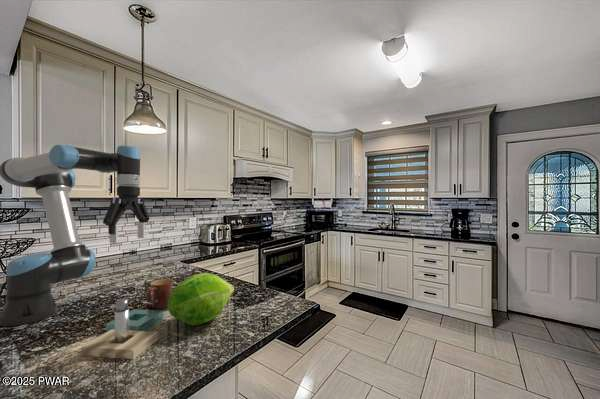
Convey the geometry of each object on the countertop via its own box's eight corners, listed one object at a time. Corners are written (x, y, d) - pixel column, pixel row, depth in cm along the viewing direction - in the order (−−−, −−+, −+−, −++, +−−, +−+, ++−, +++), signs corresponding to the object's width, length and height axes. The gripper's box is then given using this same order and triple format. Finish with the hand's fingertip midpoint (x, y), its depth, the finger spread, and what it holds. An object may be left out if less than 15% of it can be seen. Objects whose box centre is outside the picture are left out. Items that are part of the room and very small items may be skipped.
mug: (160, 301, 111) (160, 278, 112) (178, 303, 110) (178, 279, 110) (138, 313, 100) (138, 287, 100) (157, 315, 98) (157, 288, 98)
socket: (106, 333, 84) (106, 324, 84) (133, 317, 96) (133, 309, 96) (139, 335, 83) (139, 326, 83) (163, 318, 95) (163, 310, 95)
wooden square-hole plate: (81, 355, 72) (81, 346, 72) (111, 337, 82) (111, 329, 82) (133, 359, 70) (133, 350, 70) (157, 339, 80) (157, 331, 80)
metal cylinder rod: (111, 350, 74) (111, 302, 75) (121, 343, 78) (121, 297, 78) (122, 351, 74) (122, 302, 74) (132, 344, 78) (132, 298, 78)
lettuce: (247, 316, 96) (247, 271, 96) (179, 344, 77) (179, 288, 78) (220, 303, 109) (220, 263, 109) (157, 325, 90) (157, 276, 90)
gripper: (109, 183, 87) (109, 245, 86) (158, 187, 111) (158, 236, 111) (90, 183, 87) (89, 245, 87) (143, 188, 112) (142, 236, 112)
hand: (128, 240), depth 99 cm, fingers open, 13 cm apart
